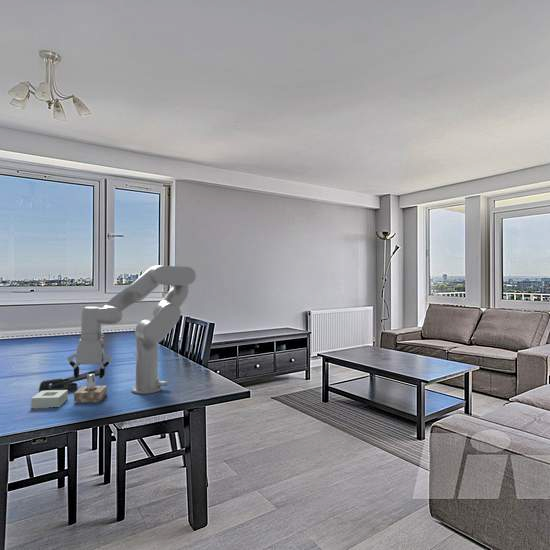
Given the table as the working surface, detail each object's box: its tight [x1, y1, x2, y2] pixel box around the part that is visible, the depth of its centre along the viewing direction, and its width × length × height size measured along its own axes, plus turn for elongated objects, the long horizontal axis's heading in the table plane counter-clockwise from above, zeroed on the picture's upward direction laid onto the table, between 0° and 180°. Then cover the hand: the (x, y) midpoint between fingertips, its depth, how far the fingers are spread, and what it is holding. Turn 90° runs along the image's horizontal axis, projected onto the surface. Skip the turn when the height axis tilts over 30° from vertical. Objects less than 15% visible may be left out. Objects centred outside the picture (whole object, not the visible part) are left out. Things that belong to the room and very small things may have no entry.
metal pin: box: [86, 373, 96, 391], centre depth 169 cm, size 3×3×10 cm
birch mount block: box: [73, 385, 107, 403], centre depth 169 cm, size 10×10×4 cm
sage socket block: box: [30, 390, 69, 409], centre depth 162 cm, size 10×10×4 cm
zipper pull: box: [38, 369, 100, 393], centre depth 182 cm, size 9×7×25 cm
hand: (89, 377), depth 169 cm, fingers open, 9 cm apart
